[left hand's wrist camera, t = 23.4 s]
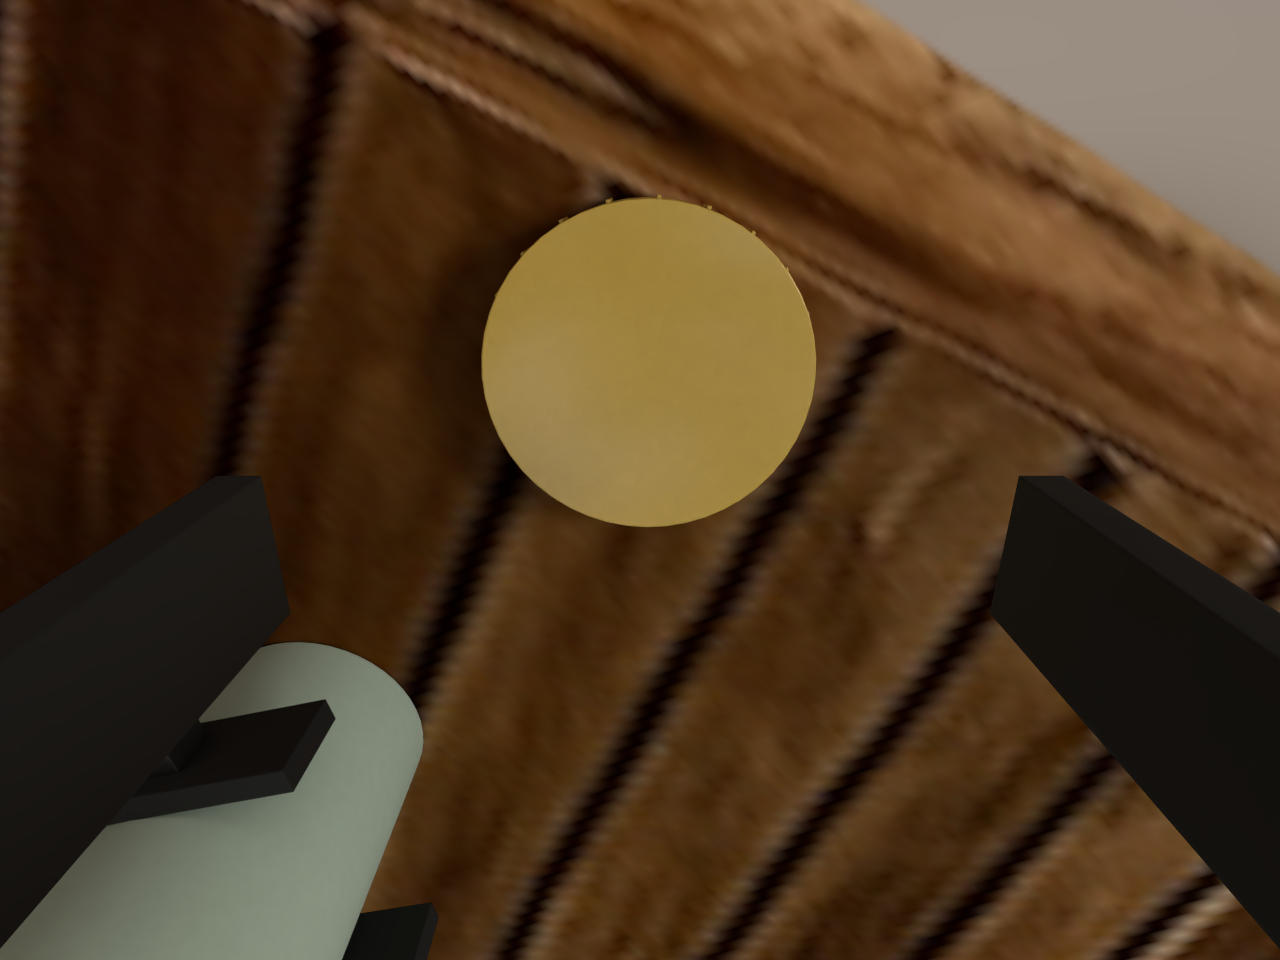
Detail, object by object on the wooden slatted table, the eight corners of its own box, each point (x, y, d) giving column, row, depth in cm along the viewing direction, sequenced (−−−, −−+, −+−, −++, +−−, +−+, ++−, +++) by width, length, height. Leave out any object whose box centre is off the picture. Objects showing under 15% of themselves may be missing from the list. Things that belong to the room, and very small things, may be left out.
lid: (714, 125, 19) (722, 119, 17) (851, 418, 22) (870, 440, 20) (431, 300, 21) (410, 312, 19) (596, 546, 24) (591, 577, 22)
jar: (391, 828, 29) (134, 1480, 15) (193, 767, 28) (-306, 1415, 13) (450, 686, 26) (203, 1325, 12) (232, 611, 25) (-354, 1222, 10)
